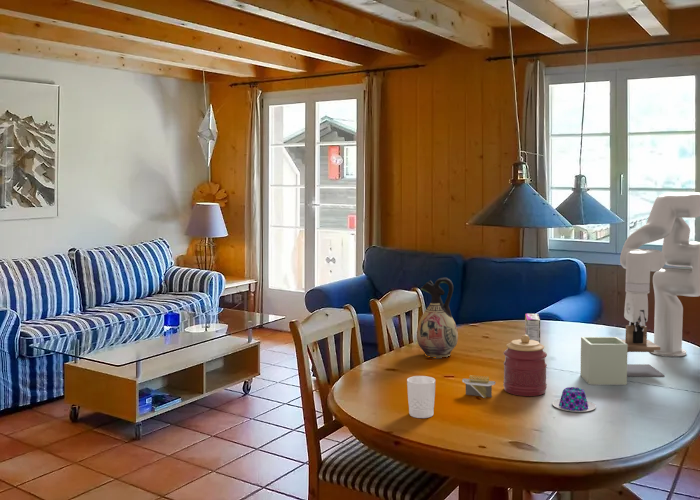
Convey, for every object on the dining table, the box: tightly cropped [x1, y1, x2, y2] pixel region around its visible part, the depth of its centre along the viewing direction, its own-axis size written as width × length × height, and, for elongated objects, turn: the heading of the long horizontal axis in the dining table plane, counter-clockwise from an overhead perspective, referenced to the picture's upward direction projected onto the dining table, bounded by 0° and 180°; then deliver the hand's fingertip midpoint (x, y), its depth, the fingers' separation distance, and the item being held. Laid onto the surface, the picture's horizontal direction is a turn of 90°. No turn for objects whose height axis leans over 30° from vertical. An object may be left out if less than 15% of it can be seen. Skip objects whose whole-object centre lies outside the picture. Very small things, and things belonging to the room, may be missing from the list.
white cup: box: [406, 375, 436, 419], centre depth 194 cm, size 8×8×10 cm
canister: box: [502, 334, 548, 397], centre depth 214 cm, size 13×13×18 cm
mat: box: [627, 363, 665, 378], centre depth 235 cm, size 14×14×1 cm
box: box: [579, 336, 628, 386], centre depth 224 cm, size 11×12×13 cm
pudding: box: [551, 386, 597, 413], centre depth 199 cm, size 12×12×5 cm
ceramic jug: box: [416, 277, 459, 359], centre depth 258 cm, size 17×15×30 cm
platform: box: [461, 374, 496, 399], centre depth 209 cm, size 12×18×7 cm, turn 68°
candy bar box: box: [524, 313, 541, 344], centre depth 249 cm, size 11×5×16 cm, turn 168°
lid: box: [621, 324, 660, 353], centre depth 234 cm, size 11×12×8 cm
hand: (636, 341), depth 234 cm, fingers closed on lid, 3 cm apart
